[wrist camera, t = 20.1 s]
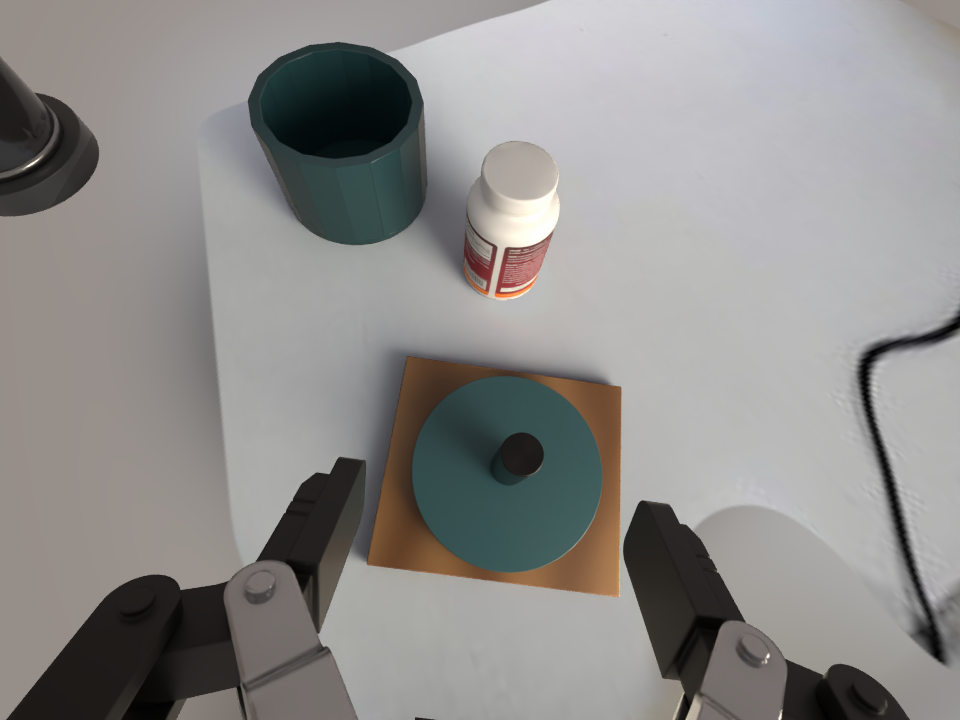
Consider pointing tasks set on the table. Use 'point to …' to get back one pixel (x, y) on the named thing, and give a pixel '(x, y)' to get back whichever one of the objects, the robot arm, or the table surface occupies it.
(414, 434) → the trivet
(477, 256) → the pill bottle
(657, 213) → the table surface
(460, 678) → the table surface
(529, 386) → the lid
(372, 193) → the pot
